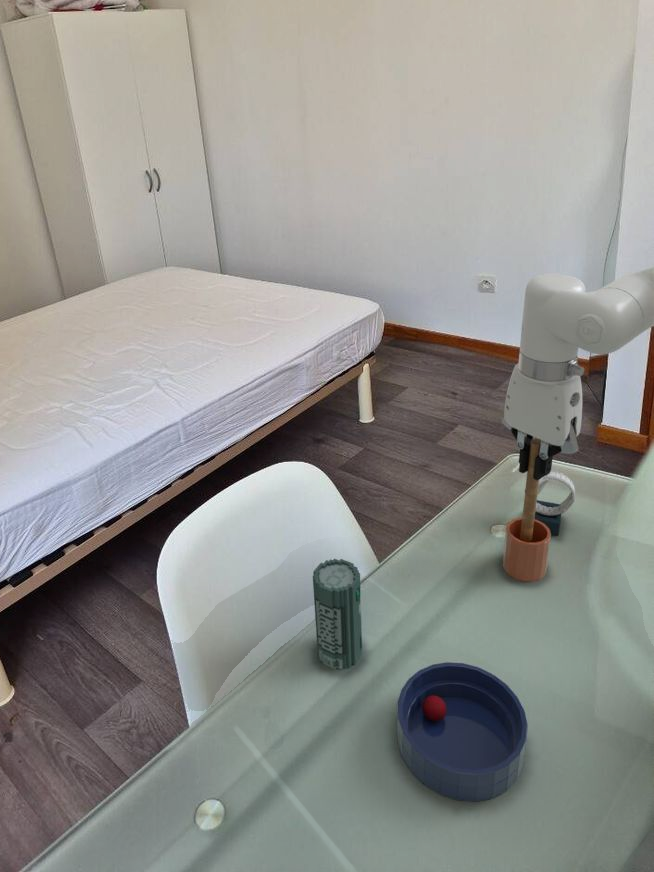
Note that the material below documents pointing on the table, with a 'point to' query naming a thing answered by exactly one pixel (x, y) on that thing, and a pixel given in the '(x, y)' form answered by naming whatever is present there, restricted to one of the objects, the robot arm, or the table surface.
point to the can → (338, 613)
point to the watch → (552, 511)
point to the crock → (526, 551)
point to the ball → (434, 708)
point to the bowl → (462, 732)
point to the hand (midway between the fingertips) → (533, 472)
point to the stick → (530, 493)
